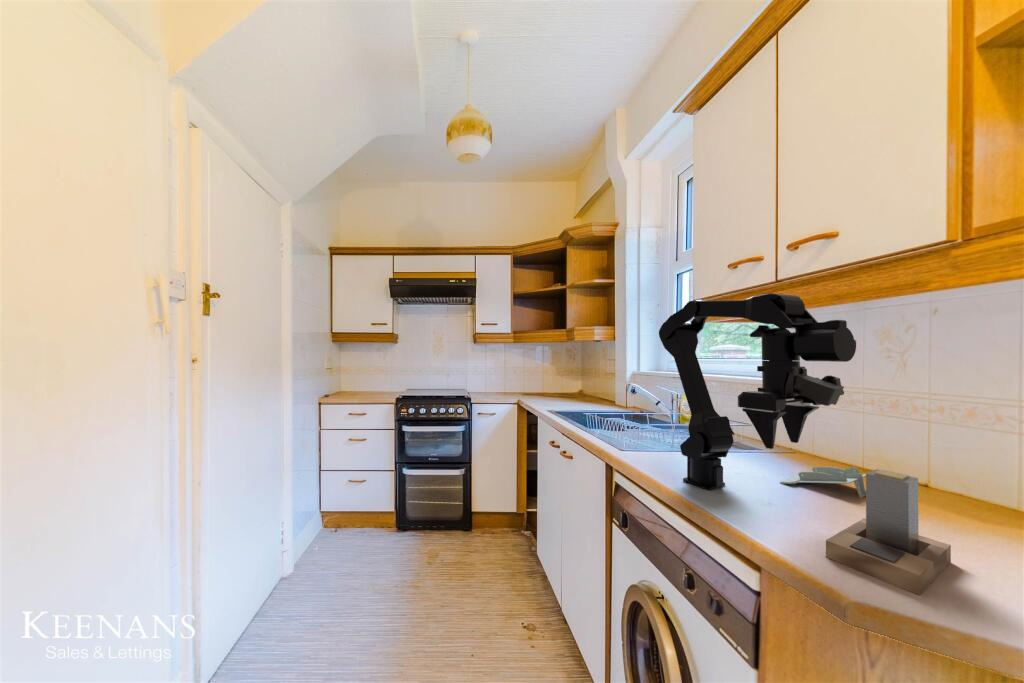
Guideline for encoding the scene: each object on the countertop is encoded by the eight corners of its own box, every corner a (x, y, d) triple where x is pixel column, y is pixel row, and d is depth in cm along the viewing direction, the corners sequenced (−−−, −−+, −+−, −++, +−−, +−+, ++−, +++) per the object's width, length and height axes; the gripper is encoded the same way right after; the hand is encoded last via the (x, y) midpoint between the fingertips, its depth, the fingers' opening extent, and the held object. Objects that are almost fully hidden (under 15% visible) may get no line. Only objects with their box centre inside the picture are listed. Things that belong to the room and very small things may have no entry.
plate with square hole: (825, 557, 54) (825, 538, 54) (863, 533, 61) (863, 517, 61) (919, 595, 46) (919, 573, 46) (950, 562, 53) (950, 543, 53)
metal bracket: (873, 464, 82) (846, 475, 74) (883, 491, 80) (857, 505, 72) (800, 465, 93) (771, 474, 86) (808, 489, 92) (779, 501, 84)
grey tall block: (866, 552, 55) (866, 471, 56) (877, 545, 58) (876, 467, 58) (908, 568, 52) (908, 481, 52) (918, 559, 54) (918, 476, 54)
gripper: (809, 362, 56) (812, 464, 56) (857, 361, 66) (859, 449, 65) (735, 360, 66) (736, 447, 65) (786, 360, 75) (787, 436, 75)
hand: (782, 445), depth 67 cm, fingers open, 9 cm apart
